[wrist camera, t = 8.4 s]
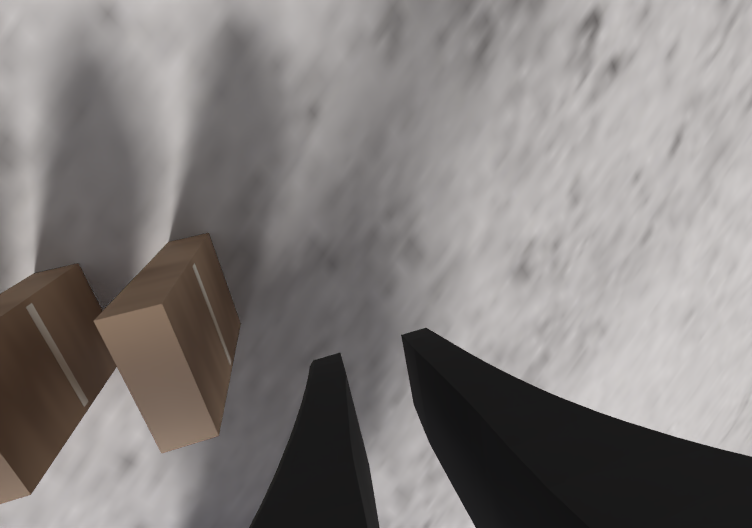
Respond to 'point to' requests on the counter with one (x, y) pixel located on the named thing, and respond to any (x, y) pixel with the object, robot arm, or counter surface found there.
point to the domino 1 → (46, 371)
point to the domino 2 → (175, 341)
